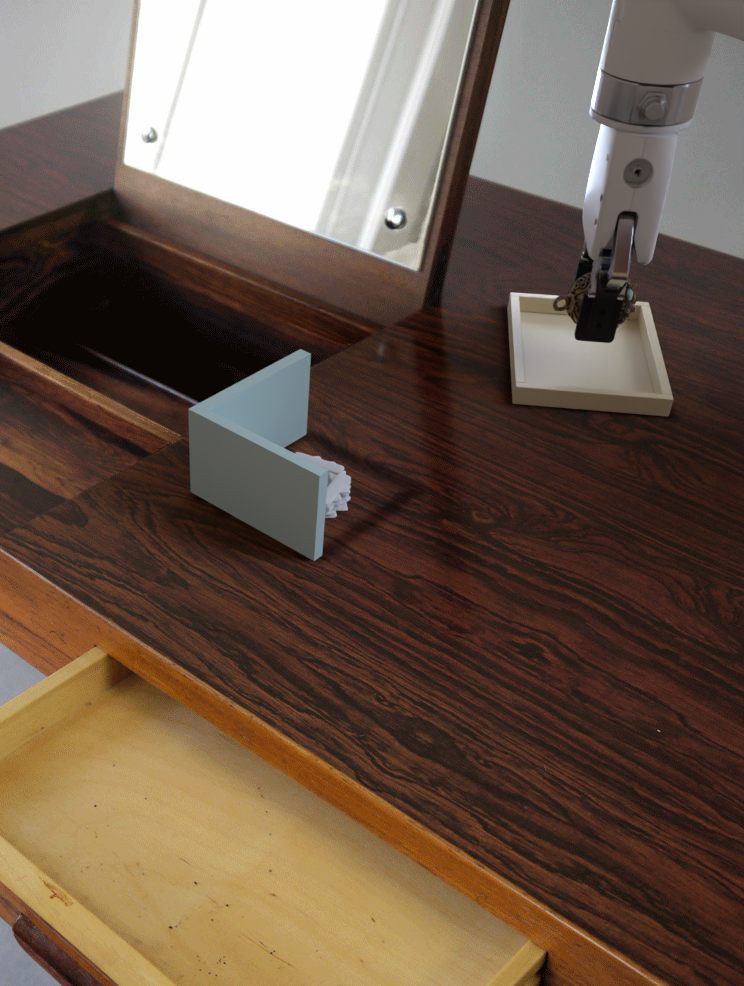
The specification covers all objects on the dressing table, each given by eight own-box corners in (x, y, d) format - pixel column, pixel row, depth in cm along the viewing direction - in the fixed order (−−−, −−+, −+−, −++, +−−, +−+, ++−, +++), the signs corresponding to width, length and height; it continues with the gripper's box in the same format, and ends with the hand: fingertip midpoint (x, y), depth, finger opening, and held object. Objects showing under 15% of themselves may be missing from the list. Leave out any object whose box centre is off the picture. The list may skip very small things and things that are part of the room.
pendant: (643, 337, 96) (659, 280, 93) (561, 347, 95) (574, 290, 91) (615, 310, 100) (629, 255, 96) (535, 319, 98) (546, 263, 95)
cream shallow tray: (506, 312, 107) (510, 291, 105) (643, 323, 106) (648, 301, 104) (511, 409, 94) (515, 386, 93) (667, 422, 93) (673, 399, 92)
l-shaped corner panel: (313, 567, 79) (319, 476, 73) (190, 497, 84) (188, 408, 79) (417, 494, 85) (429, 406, 80) (296, 435, 91) (300, 349, 86)
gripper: (714, 139, 78) (646, 376, 91) (680, 65, 91) (625, 283, 103) (603, 132, 79) (551, 368, 92) (585, 60, 91) (541, 276, 104)
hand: (590, 321), depth 97 cm, fingers closed on pendant, 5 cm apart
